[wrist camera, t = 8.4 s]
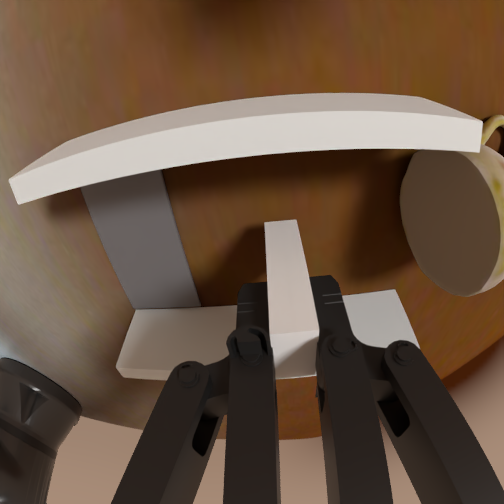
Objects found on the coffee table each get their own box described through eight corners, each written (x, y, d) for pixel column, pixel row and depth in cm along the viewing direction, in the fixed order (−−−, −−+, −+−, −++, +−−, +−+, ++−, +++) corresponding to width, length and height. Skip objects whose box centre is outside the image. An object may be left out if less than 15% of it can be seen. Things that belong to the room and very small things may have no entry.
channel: (141, 320, 21) (123, 377, 17) (67, 141, 13) (8, 179, 9) (391, 301, 19) (414, 359, 15) (420, 97, 11) (482, 121, 7)
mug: (510, 222, 15) (522, 346, 10) (397, 179, 19) (370, 295, 13) (550, 138, 10) (611, 257, 4) (417, 80, 13) (420, 159, 7)
